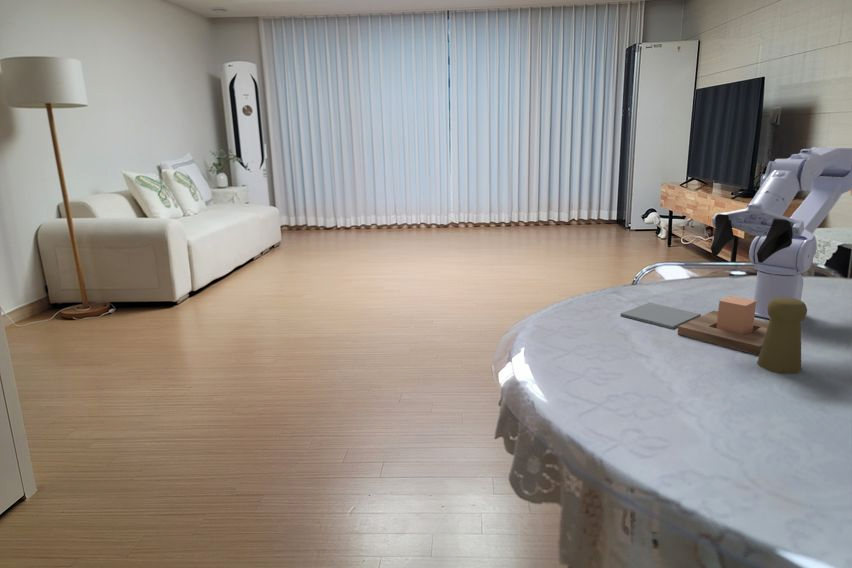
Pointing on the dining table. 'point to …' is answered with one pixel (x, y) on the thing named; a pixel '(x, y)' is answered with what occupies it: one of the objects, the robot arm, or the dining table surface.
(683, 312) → the mat
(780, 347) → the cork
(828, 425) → the dining table surface
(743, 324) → the block
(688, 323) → the holder
